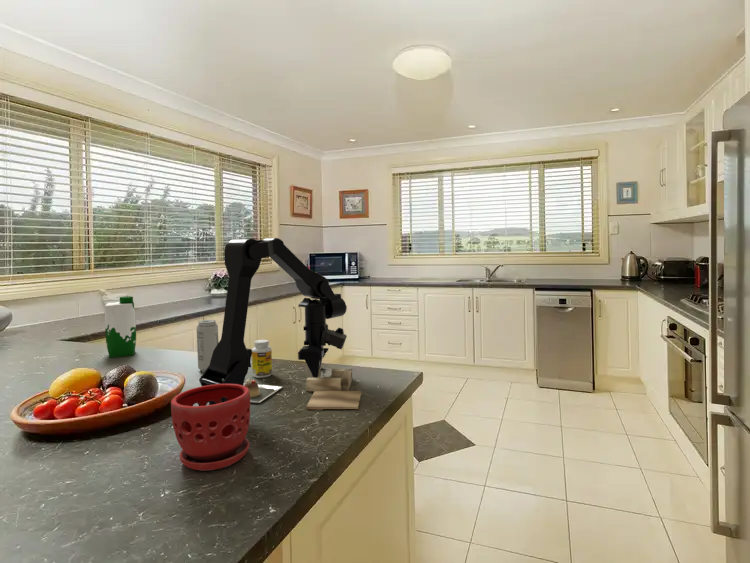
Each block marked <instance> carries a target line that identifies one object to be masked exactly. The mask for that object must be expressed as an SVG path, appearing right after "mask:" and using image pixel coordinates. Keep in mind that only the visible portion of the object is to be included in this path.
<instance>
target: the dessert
mask: <svg viewBox="0 0 750 563" xmlns="http://www.w3.org/2000/svg"><path fill="white" fill-rule="evenodd" d="M252 379H253V380H252ZM243 386H245V387H247V388H248V389H249V391H250V398H255V397H258V396H260V395H261V390H260V389H267V390H274V391H272V392H271V393H270V394H268V395H267V396H265V397H264V398H262V399H261V400H259V401H254V400H250V404H260V403H262V402H263V401H264V400H266V399H268V398H269V397H271V396H272V395H274V394H275V393H277V392H278V391H279V390H282V388H283V387H284V386H282V385H271V384H259V383H257V382H256V380H255V379H254V378H253V377H251V378H250V377H249V378H247V379H246V380H245V382H244V384H243Z"/></svg>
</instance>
